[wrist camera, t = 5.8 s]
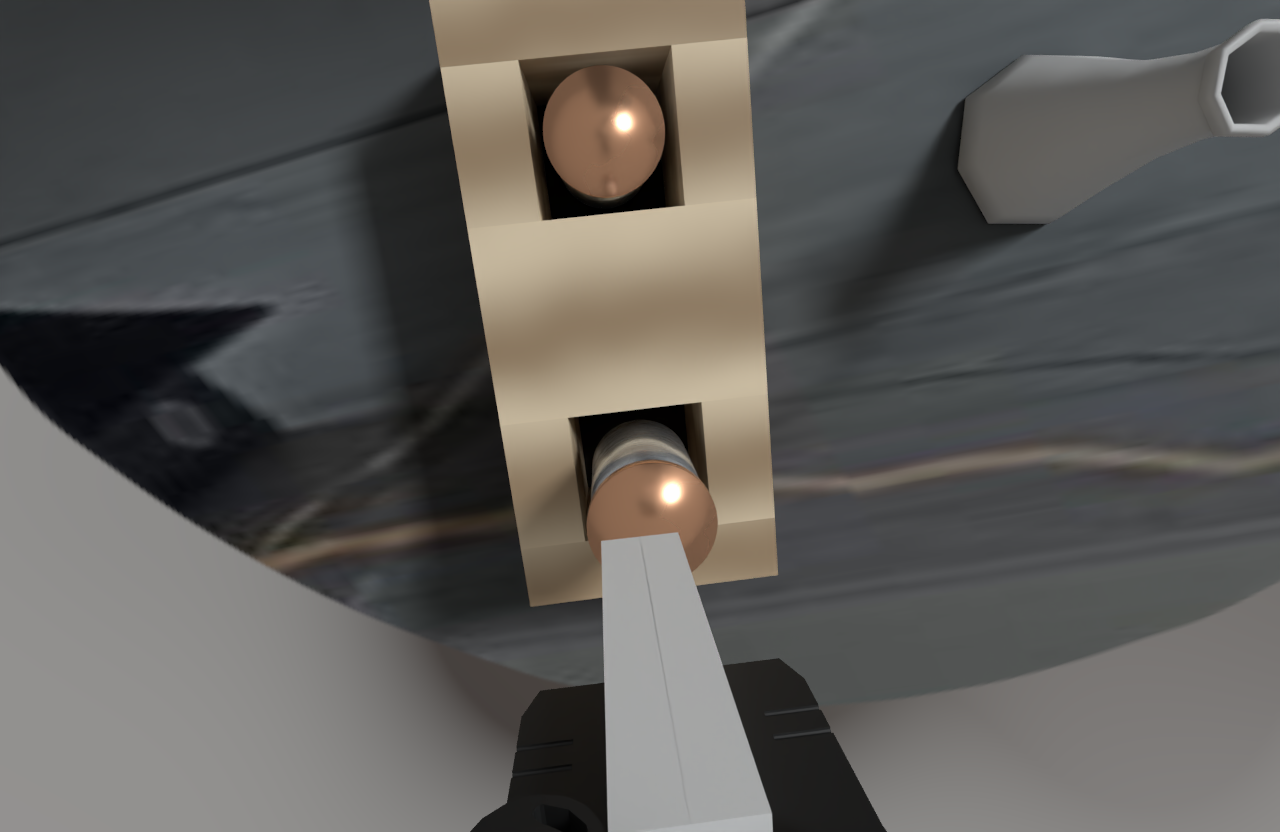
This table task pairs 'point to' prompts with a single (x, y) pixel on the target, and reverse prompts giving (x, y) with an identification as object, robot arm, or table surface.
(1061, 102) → the flask
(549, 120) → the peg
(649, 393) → the oak block
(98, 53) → the table surface
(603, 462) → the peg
